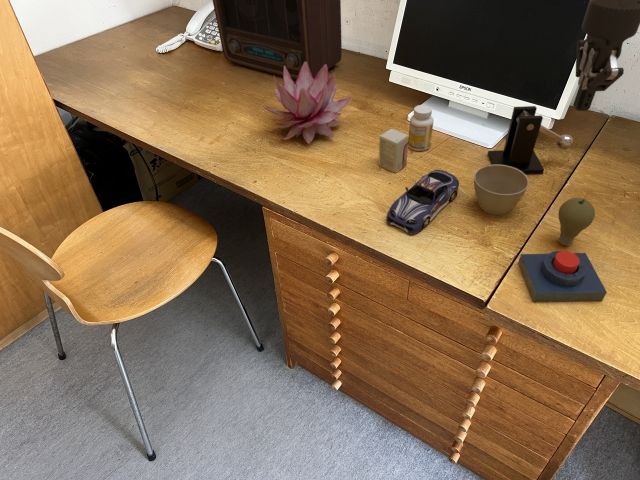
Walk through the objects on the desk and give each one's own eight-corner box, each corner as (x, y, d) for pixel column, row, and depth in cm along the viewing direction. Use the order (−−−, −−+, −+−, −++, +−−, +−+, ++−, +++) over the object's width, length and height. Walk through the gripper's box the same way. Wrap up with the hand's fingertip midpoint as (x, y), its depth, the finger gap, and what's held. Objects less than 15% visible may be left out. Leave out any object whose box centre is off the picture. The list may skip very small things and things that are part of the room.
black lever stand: (531, 153, 109) (546, 102, 100) (542, 174, 103) (559, 120, 94) (487, 155, 110) (498, 103, 101) (495, 175, 104) (508, 122, 95)
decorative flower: (289, 162, 112) (282, 103, 102) (254, 124, 126) (245, 69, 116) (366, 136, 119) (367, 78, 108) (325, 103, 133) (322, 48, 122)
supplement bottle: (415, 154, 112) (419, 117, 105) (403, 143, 115) (406, 107, 109) (435, 147, 113) (439, 110, 107) (422, 137, 117) (425, 101, 110)
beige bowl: (512, 191, 99) (520, 163, 94) (526, 223, 92) (536, 193, 87) (464, 193, 100) (469, 164, 95) (474, 224, 93) (480, 195, 88)
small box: (407, 165, 108) (409, 135, 103) (395, 173, 106) (397, 143, 101) (389, 157, 111) (391, 127, 106) (377, 165, 109) (378, 135, 104)
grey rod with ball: (562, 146, 105) (573, 135, 103) (567, 154, 102) (579, 143, 101) (513, 119, 101) (524, 107, 99) (517, 127, 98) (528, 114, 96)
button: (571, 258, 80) (575, 250, 78) (579, 274, 77) (583, 266, 76) (549, 258, 80) (552, 251, 79) (557, 274, 77) (560, 266, 76)
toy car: (381, 222, 94) (382, 202, 91) (430, 178, 104) (432, 159, 101) (415, 238, 91) (417, 218, 87) (462, 191, 100) (466, 171, 97)
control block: (581, 261, 84) (589, 245, 81) (602, 301, 77) (611, 284, 75) (517, 262, 85) (523, 246, 82) (533, 302, 78) (539, 285, 75)
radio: (220, 65, 156) (199, -38, 136) (256, 46, 166) (241, -53, 146) (309, 89, 140) (300, -24, 119) (342, 66, 150) (340, -42, 129)
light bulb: (578, 258, 85) (597, 215, 78) (545, 248, 87) (561, 205, 80) (583, 238, 88) (601, 196, 81) (551, 230, 90) (566, 187, 83)
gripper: (668, 13, 64) (619, 128, 76) (626, -16, 73) (589, 90, 85) (610, 15, 64) (570, 129, 76) (576, -14, 74) (546, 91, 86)
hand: (580, 108), depth 81 cm, fingers closed
